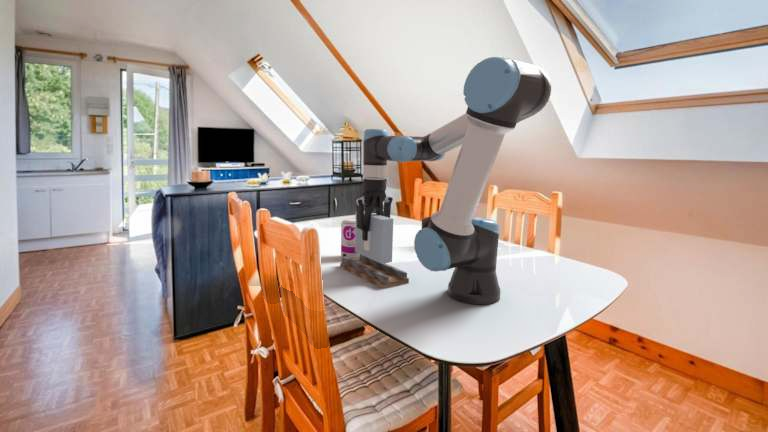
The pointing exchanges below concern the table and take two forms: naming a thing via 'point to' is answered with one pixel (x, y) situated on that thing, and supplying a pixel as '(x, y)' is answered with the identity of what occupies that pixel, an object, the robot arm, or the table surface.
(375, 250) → the sliding panel
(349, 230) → the supplement can
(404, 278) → the floor track
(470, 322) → the table surface
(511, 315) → the table surface
